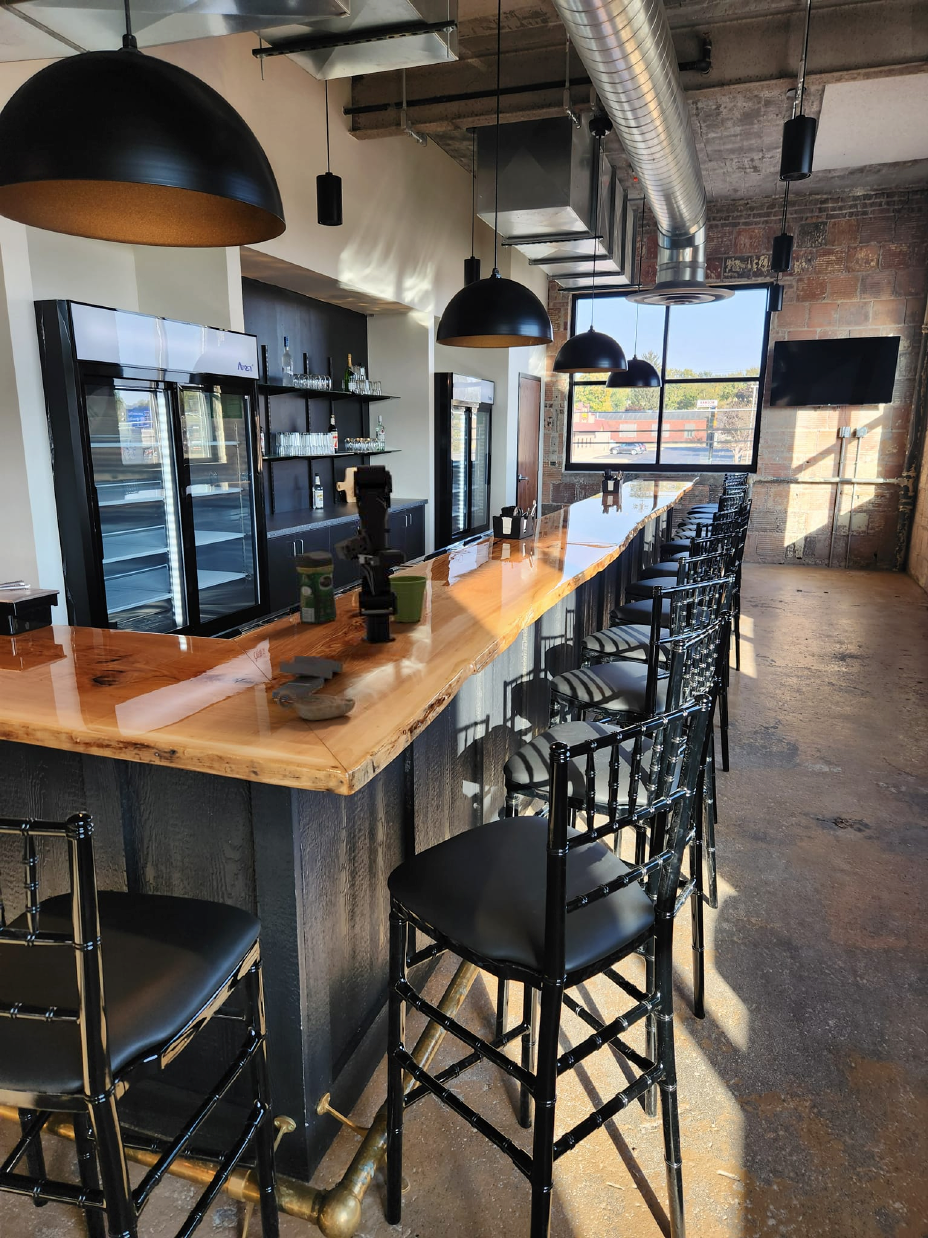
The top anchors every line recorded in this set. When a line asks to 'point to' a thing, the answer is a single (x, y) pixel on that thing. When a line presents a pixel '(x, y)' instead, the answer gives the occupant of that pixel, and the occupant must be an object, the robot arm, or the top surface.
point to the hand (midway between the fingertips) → (375, 594)
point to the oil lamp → (317, 705)
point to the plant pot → (409, 597)
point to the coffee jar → (316, 587)
